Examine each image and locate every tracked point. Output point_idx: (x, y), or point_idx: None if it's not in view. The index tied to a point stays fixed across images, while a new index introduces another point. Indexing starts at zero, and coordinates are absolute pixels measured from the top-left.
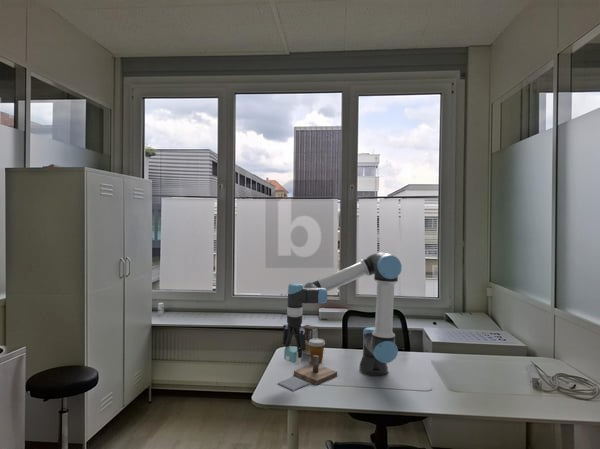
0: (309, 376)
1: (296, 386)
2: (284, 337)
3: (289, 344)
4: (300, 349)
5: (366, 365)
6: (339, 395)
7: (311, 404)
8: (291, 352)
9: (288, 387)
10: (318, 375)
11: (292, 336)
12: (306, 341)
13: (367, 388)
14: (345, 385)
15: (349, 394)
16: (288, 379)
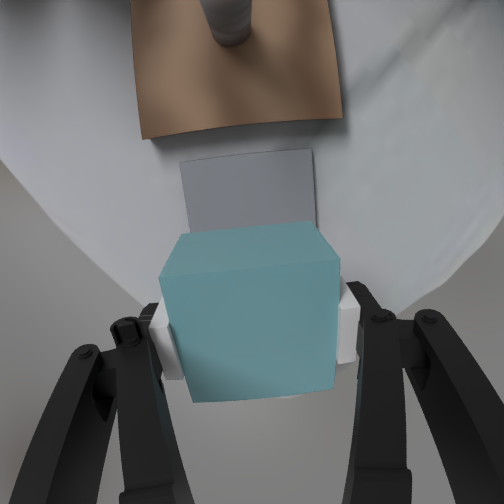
0: (270, 110)
1: None
2: (101, 459)
3: (150, 356)
4: (408, 369)
5: None
6: (472, 134)
7: (442, 278)
8: (302, 388)
9: None
10: (294, 57)
11: (166, 447)
12: None
13: (482, 6)
14: (425, 28)
15: (486, 98)
16: (196, 213)
